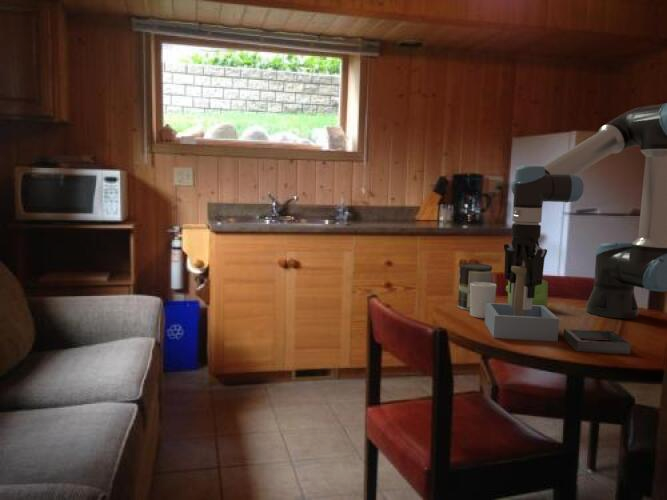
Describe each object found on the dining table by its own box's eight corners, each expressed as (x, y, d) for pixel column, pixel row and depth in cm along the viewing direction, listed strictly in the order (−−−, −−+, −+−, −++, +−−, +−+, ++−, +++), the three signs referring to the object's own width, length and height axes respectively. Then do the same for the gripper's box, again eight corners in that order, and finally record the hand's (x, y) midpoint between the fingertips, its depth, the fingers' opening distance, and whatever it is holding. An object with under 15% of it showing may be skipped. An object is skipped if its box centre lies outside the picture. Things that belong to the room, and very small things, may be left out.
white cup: (491, 313, 179) (493, 282, 177) (496, 319, 171) (498, 286, 170) (466, 312, 179) (468, 281, 178) (470, 318, 172) (471, 285, 170)
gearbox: (496, 302, 199) (496, 275, 197) (521, 300, 201) (521, 273, 200) (525, 313, 181) (526, 284, 180) (552, 310, 184) (553, 282, 182)
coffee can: (451, 307, 185) (454, 265, 184) (466, 302, 193) (468, 262, 192) (481, 313, 179) (483, 269, 177) (494, 307, 187) (497, 265, 185)
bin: (542, 325, 165) (543, 305, 164) (557, 341, 148) (559, 319, 148) (484, 322, 167) (485, 302, 166) (493, 337, 150) (494, 315, 150)
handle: (534, 321, 156) (538, 267, 154) (515, 323, 154) (519, 268, 152) (523, 317, 160) (527, 265, 158) (504, 318, 158) (508, 265, 156)
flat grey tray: (611, 340, 151) (612, 331, 151) (629, 354, 139) (630, 344, 139) (563, 337, 152) (563, 328, 152) (577, 351, 140) (578, 341, 140)
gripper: (493, 221, 159) (488, 302, 162) (541, 226, 145) (534, 315, 147) (513, 220, 163) (508, 300, 166) (561, 225, 148) (555, 313, 151)
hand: (520, 307), depth 157 cm, fingers closed on handle, 4 cm apart
